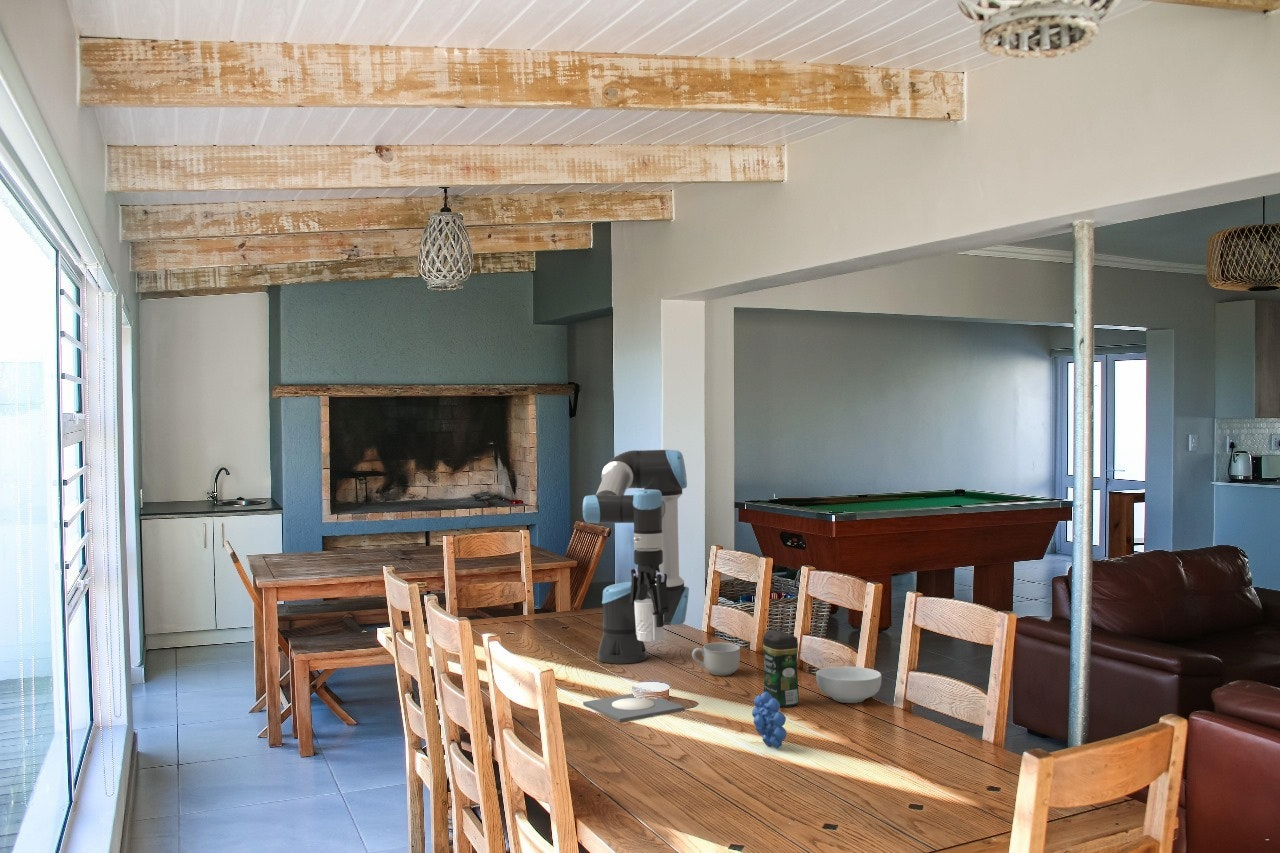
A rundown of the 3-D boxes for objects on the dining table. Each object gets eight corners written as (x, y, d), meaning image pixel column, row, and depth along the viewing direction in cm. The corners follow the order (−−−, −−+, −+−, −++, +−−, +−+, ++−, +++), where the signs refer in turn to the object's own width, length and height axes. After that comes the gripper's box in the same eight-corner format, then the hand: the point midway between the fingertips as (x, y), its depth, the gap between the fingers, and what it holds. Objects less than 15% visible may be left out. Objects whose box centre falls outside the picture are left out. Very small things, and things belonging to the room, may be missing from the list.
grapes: (739, 742, 247) (738, 689, 247) (763, 737, 251) (763, 686, 250) (768, 755, 237) (767, 701, 237) (793, 751, 240) (792, 697, 240)
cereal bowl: (894, 698, 284) (893, 671, 283) (860, 711, 271) (859, 683, 271) (838, 688, 295) (838, 662, 295) (803, 700, 283) (803, 673, 283)
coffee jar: (759, 700, 284) (758, 629, 283) (786, 697, 286) (785, 627, 286) (775, 709, 275) (774, 636, 274) (803, 706, 277) (802, 633, 277)
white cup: (633, 636, 285) (632, 599, 285) (662, 635, 286) (662, 598, 286) (636, 642, 277) (635, 603, 277) (666, 641, 278) (666, 602, 278)
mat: (583, 705, 281) (583, 701, 281) (645, 694, 291) (645, 690, 291) (619, 722, 265) (619, 718, 265) (684, 710, 275) (684, 706, 275)
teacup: (740, 669, 318) (740, 642, 318) (740, 678, 308) (740, 650, 308) (693, 668, 320) (693, 641, 320) (691, 677, 309) (691, 649, 309)
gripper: (615, 546, 288) (616, 632, 288) (657, 553, 271) (659, 645, 271) (639, 544, 292) (640, 629, 292) (682, 551, 275) (683, 641, 275)
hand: (649, 636), depth 281 cm, fingers closed on white cup, 7 cm apart
